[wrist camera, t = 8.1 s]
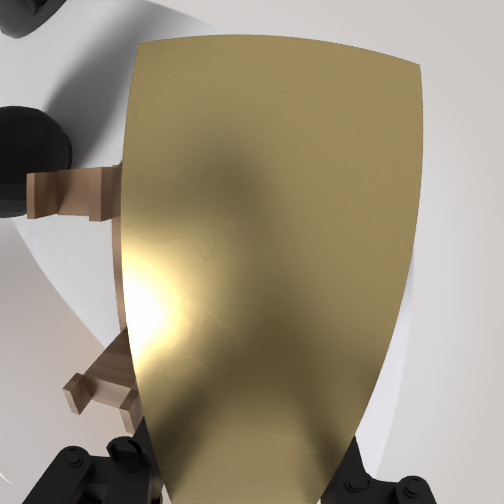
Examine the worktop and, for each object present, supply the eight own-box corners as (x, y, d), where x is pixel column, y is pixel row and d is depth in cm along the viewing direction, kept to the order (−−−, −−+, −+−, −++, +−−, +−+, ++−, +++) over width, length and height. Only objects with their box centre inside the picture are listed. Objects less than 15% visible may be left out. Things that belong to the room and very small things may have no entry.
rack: (112, 165, 24) (27, 164, 13) (172, 164, 23) (102, 155, 12) (124, 352, 29) (74, 416, 18) (174, 362, 28) (137, 438, 17)
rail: (211, 117, 8) (138, 43, 3) (337, 127, 8) (419, 64, 3) (211, 501, 14) (198, 563, 8) (269, 506, 13) (266, 569, 8)
